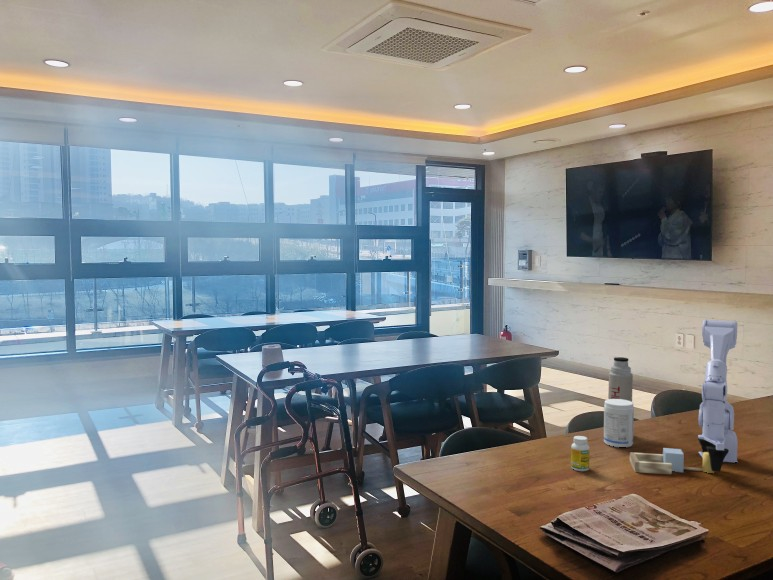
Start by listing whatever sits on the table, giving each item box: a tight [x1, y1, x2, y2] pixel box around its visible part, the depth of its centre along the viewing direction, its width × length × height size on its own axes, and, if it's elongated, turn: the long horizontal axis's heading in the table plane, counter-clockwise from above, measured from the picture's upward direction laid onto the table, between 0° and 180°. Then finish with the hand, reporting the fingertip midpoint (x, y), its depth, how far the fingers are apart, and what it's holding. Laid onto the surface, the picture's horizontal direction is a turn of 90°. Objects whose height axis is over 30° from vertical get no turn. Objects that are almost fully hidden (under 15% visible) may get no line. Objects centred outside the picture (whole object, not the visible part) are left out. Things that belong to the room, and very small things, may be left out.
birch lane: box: [629, 452, 673, 475], centre depth 191 cm, size 10×9×3 cm
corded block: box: [662, 447, 715, 474], centre depth 189 cm, size 14×5×6 cm, turn 74°
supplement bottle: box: [570, 435, 591, 472], centre depth 190 cm, size 5×5×10 cm
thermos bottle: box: [607, 356, 634, 402], centre depth 224 cm, size 8×8×28 cm
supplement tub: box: [603, 399, 635, 448], centre depth 214 cm, size 10×10×15 cm
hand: (712, 466), depth 188 cm, fingers open, 7 cm apart
